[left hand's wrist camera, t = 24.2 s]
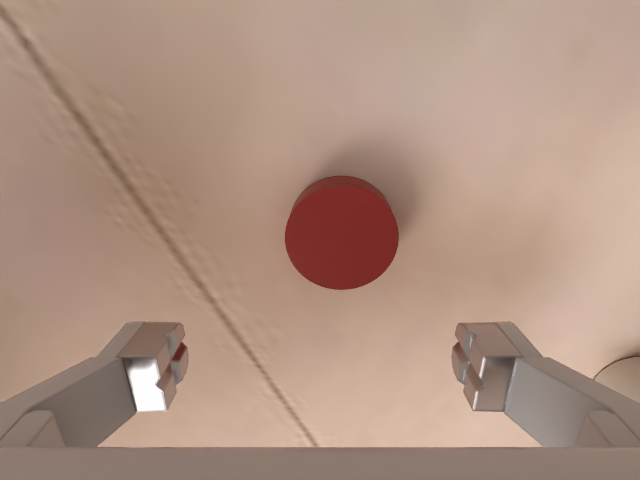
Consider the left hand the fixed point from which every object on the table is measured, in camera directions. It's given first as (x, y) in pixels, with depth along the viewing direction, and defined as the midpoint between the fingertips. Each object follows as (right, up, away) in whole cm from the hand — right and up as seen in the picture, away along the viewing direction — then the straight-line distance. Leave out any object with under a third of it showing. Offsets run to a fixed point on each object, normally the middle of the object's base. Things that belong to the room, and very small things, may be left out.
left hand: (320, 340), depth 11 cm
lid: (+1, +3, +5) cm, 6 cm away
